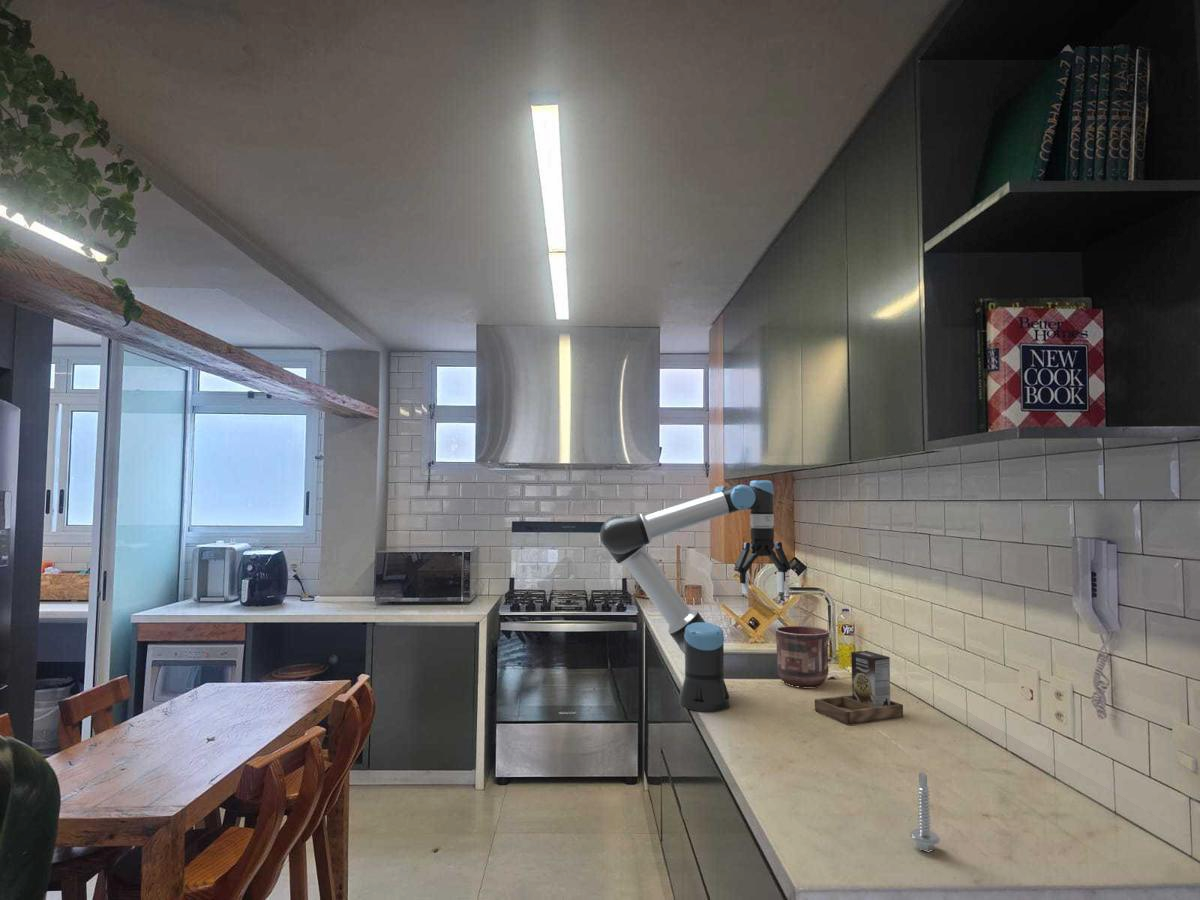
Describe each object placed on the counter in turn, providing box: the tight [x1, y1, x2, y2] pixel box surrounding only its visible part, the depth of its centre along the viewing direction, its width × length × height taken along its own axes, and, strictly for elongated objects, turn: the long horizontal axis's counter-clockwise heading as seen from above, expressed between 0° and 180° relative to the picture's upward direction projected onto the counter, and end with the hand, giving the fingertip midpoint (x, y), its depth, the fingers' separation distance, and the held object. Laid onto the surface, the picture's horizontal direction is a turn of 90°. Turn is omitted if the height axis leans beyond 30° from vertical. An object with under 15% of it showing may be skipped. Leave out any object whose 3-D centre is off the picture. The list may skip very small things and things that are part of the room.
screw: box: [909, 771, 941, 851], centre depth 120 cm, size 13×5×5 cm
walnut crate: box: [814, 694, 904, 726], centre depth 198 cm, size 20×14×4 cm
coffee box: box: [850, 650, 891, 707], centre depth 200 cm, size 9×6×16 cm
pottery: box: [775, 625, 830, 688], centre depth 232 cm, size 18×18×18 cm
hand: (763, 593), depth 223 cm, fingers open, 13 cm apart
